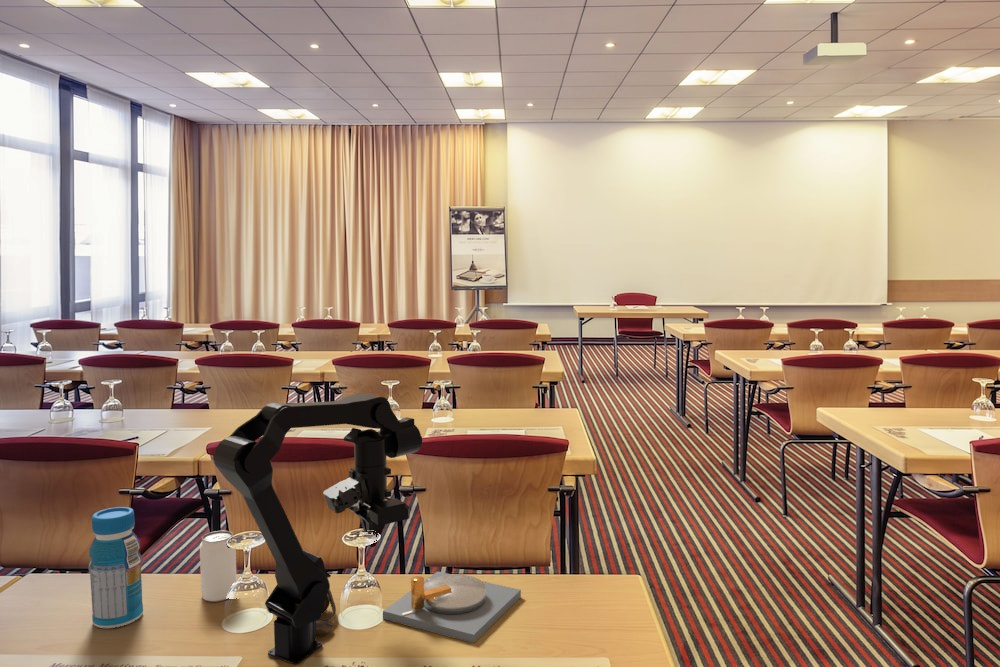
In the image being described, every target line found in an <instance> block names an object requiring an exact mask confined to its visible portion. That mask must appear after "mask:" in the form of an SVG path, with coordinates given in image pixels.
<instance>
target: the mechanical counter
mask: <svg viewBox="0 0 1000 667" xmlns="http://www.w3.org/2000/svg"><path fill="white" fill-rule="evenodd" d="M334 600H335V599H334V597H333V594H332V591H331V588H330V589H329V590H328V593H327V596H326V600H325V604H324V608H323V611H322V615H323V614H325V612H326V611H327V610H328V608H329V606H331V610H332V615H330V616H328V617H327V618H324V619H318V620H316V638H318V637H319V638H320V637H324V636H326V635H329V634H330V633H332V632H333V630H334V624H332V623H330V622H332V621H333V620H334V618H335V617H336V613H337V608H336V604H335V601H334Z"/></svg>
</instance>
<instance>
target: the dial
mask: <svg viewBox="0 0 1000 667" xmlns="http://www.w3.org/2000/svg"><path fill="white" fill-rule="evenodd" d="M424 581H425V578H424V577H423V576H420V575H417V576H413V577H411V578H410V591H411V608H412V609H415V610H420V609H423V608H424V606H425V607H426V608H428V609H430V610H432V611H435V612H438V613H444V614H459V613H465V612H469V611H472V610H475V609H477V608H479V607H480V606H482V605H483V604H484V602H485V600H486V587H485V584H484V583H483V582H484V581H483V582H482V580H480V578H477V577H475V576H471V575H467V574H452V575H445V576H440V577H436V578H434V579H431V580H429V581H428V582H426V583H425V584H424Z"/></svg>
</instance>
